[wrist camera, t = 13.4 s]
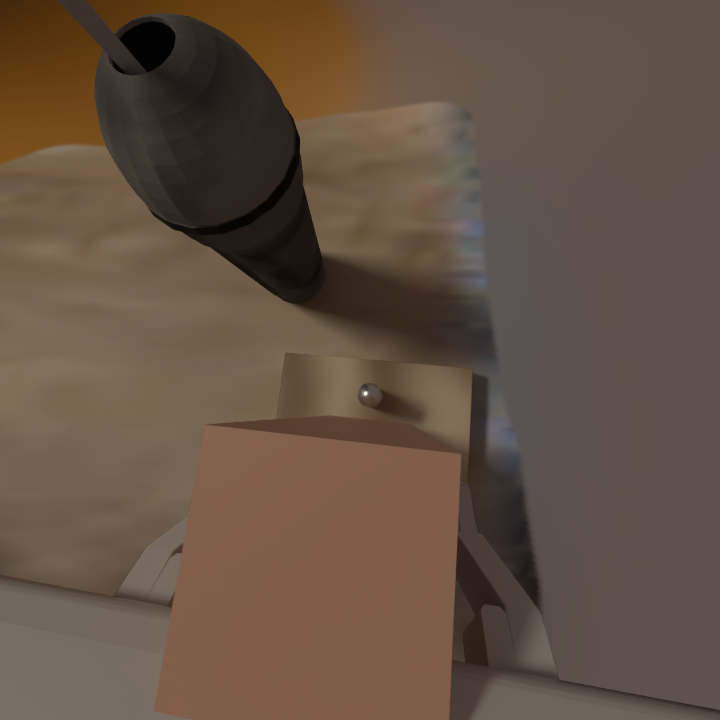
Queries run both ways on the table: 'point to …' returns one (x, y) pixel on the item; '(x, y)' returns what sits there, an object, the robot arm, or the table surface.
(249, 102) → the beverage cup
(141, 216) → the table surface
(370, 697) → the terracotta post
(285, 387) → the pin plate
